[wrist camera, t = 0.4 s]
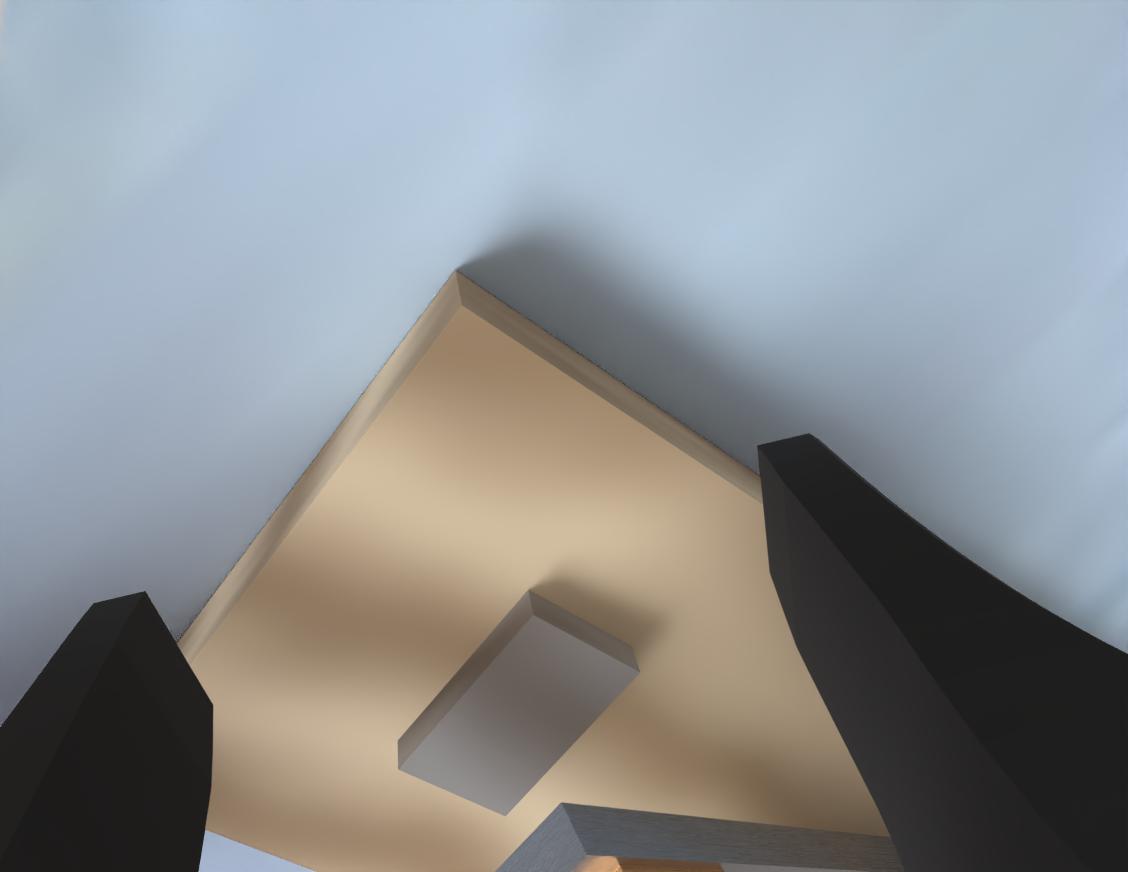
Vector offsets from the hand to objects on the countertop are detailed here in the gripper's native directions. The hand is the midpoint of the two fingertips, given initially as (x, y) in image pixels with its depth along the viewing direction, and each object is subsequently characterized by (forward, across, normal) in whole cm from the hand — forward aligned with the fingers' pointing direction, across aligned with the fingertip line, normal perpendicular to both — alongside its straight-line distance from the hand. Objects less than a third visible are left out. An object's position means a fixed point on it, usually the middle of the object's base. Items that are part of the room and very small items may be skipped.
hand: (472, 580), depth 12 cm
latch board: (+9, -2, +14) cm, 17 cm away
